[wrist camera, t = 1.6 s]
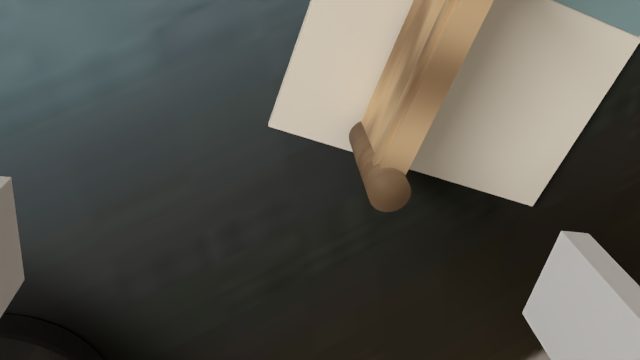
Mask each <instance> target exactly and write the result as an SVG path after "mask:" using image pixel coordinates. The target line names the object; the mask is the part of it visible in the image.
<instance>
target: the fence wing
mask: <svg viewBox="0 0 640 360" xmlns="http://www.w3.org/2000/svg"><path fill="white" fill-rule="evenodd" d="M493 1H494V0H413V3H412V5H411V7H410V10H409V12H408V14H407V17H406V19H405V21H404V24H403V26H402V28H401V30H400V33H399V35H398V37H397V40H396V42H395V44H394V47H393V49H392V51H391V53H390V56H389V58H388V60H387V63H386V65H385V67H384V70H383V72H382V74H381V76H380V79H379V81H378V83H377V86H376V88H375V90H374V93H373V95H372V97H371V100H370V102H369V104H368V106H367V109H366V111H365V113H364V116H363V118H362V120H361V121H360V122H358V123H357V124H355V125H354V126H353V127H352V129H351V130H350V133H349V142H350V145H351V147H352V150H353V153H354V156H355V159H356V162H357V165H358V168H359V171H360V174H361V177H362V180H363V183H364V186H365V189H366V192H367V195H368V198H369V201H370V203H371V205H372V206H373V207H374V208H376V209H377V210H379V211H383V212H392V211H396V210H398V209H400V208H402V207H403V206H404V205H405V204H406V203H407V202H408V200H409V198H410V195H411V187H410V184H409V182H408V180H407V178H406V174H407V172H408V170H409V168H410V166H411V164H412V162H413V160H414V158H415V156H416V154H417V152H418V150H419V148H420V146H421V144H422V142H423V140H424V138H425V136H426V134H427V132H428V130H429V128H430V126H431V124H432V122H433V120H434V118H435V116H436V114H437V112H438V110H439V108H440V106H441V104H442V102H443V100H444V98H445V96H446V94H447V92H448V90H449V88H450V87H451V85H452V83H453V81H454V79H455V77H456V75H457V73H458V71H459V69H460V67H461V65H462V63H463V61H464V59H465V57H466V55H467V53H468V51H469V49H470V47H471V45H472V43H473V41H474V39H475V37H476V35H477V33H478V31H479V29H480V27H481V25H482V23H483V21H484V19H485V17H486V15H487V13H488V11H489V9H490V7H491V5H492V3H493Z"/></svg>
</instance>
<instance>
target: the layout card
mask: <svg viewBox="0 0 640 360" xmlns="http://www.w3.org/2000/svg"><path fill="white" fill-rule="evenodd" d="M412 3H413V0H311V1H310V4H309V7H308V10H307V13H306V16H305V18H304V21H303V24H302V27H301V30H300V33H299V36H298V39H297V42H296V44H295V47H294V50H293V53H292V56H291V59H290V62H289V65H288V68H287V70H286V73H285V76H284V79H283V82H282V85H281V88H280V91H279V94H278V96H277V99H276V102H275V105H274V108H273V111H272V114H271V117H270V120H269V122H268V127H272V128H275V129H278V130H282V131H285V132H288V133H292V134H295V135H298V136H301V137H305V138H308V139H311V140H315V141H318V142H321V143H325V144H328V145H331V146H334V147H338V148H341V149H344V150H348V151H351V152H353V150H352V147H351V145H350V142H349V133H350V130H351V129H352V127H353V126H354V125H355V124H357V123H358V122H360V121H361V120H362V118H363V116H364V113H365V111H366V109H367V106H368V104H369V102H370V100H371V97H372V95H373V93H374V90H375V88H376V86H377V83H378V81H379V79H380V76H381V74H382V72H383V70H384V67H385V65H386V63H387V60H388V58H389V56H390V53H391V51H392V49H393V47H394V44H395V42H396V40H397V37H398V35H399V33H400V30H401V28H402V26H403V24H404V21H405V19H406V17H407V14H408V12H409V10H410V7H411V5H412ZM639 43H640V0H494V1H493V3H492V5H491V7H490V9H489V11H488V13H487V15H486V17H485V19H484V21H483V23H482V25H481V27H480V29H479V31H478V33H477V35H476V37H475V39H474V41H473V43H472V45H471V47H470V49H469V51H468V53H467V55H466V57H465V59H464V61H463V63H462V65H461V67H460V69H459V71H458V73H457V75H456V77H455V79H454V81H453V83H452V85H451V87H450V88H449V90H448V92H447V94H446V96H445V98H444V100H443V102H442V104H441V106H440V108H439V110H438V112H437V114H436V116H435V118H434V120H433V122H432V124H431V126H430V128H429V130H428V132H427V134H426V136H425V138H424V140H423V142H422V144H421V146H420V148H419V150H418V152H417V154H416V156H415V158H414V160H413V162H412V164H411V166H410V168H409V169H410V170H414V171H417V172H420V173H424V174H427V175H430V176H433V177H437V178H440V179H443V180H447V181H450V182H453V183H457V184H460V185H463V186H466V187H470V188H473V189H476V190H480V191H483V192H486V193H490V194H493V195H496V196H499V197H503V198H506V199H509V200H513V201H516V202H519V203H523V204H526V205H529V206H532V207H533V205H534V204H535V202H536V201H537V199H538V197H539V196H540V194H541V193H542V191H543V190H544V188H545V187H546V185H547V184H548V182H549V181H550V179H551V178H552V176H553V174H554V173H555V171H556V170H557V168H558V167H559V165H560V164H561V162H562V161H563V159H564V158H565V156H566V155H567V153H568V151H569V150H570V148H571V147H572V145H573V144H574V142H575V141H576V139H577V138H578V136H579V135H580V133H581V132H582V130H583V128H584V127H585V125H586V124H587V122H588V121H589V119H590V118H591V116H592V115H593V113H594V112H595V110H596V109H597V107H598V105H599V104H600V102H601V101H602V99H603V98H604V96H605V95H606V93H607V92H608V90H609V89H610V87H611V86H612V84H613V82H614V81H615V79H616V78H617V76H618V75H619V73H620V72H621V70H622V69H623V67H624V66H625V64H626V63H627V61H628V59H629V58H630V56H631V55H632V53H633V52H634V50H635V49H636V47H637V46H638V44H639Z"/></svg>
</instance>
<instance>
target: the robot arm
mask: <svg viewBox="0 0 640 360" xmlns="http://www.w3.org/2000/svg"><path fill="white" fill-rule="evenodd" d="M24 280H25V279H24V272H23V264H22V256H21V249H20V241H19V234H18V226H17V218H16V211H15V203H14V196H13V188H12V180H11V177H2V176H0V360H103V359H102V358H101V356H100V355H99V354H98V353H97V352H96V351H95V350H94V349H93V348H92V347H91V346H90V345H89V344H88V343H86V342H85V341H84V340H82V339H81V338H79V337H78V336H76V335H74V334H73V333H71V332H69V331H67V330H65V329H63V328H61V327H59V326H56V325H54V324H51V323H48V322H45V321H42V320H39V319H35V318H31V317H26V316H20V315H12V314H3V313H4V311H5V310H6V308H7V307H8V305H9V304H10V302H11V300H12V299H13V297H14V296H15V294H16V293H17V291H18V289H19V288H20V286H21V285H22V283H23V281H24ZM522 314H523V315H524V317H525V319H526V320H527V322H528V324H529V325H530V327H531V328H532V330H533V332H534V333H535V335H536V337H537V338H538V340H539V341H540V343H541V345H542V346H543V348H544V350H545V351H546V353H547V354H548V356H549V358H550V359H551V360H640V286H639V285H638V284H637V283H636V282H635V281H634V280H633V279H632V278H631V277H630V276H629V275H628V274H627V273H626V272H625V271H624V270H623V269H622V268H621V267H620V266H619V265H618V264H617V262H616V261H615V260H614V259H613V258H612V257H611V256H610V255H609V254H608V253H607V252H606V251H605V250H604V249H603V248H602V247H601V246H600V245H599V244H598V243H597V242H596V241H595V240H594V239H593V238H592V237H591V235H590V234H589V233H579V232H568V231H561V232H560V234H559V236H558V239H557V241H556V243H555V245H554V247H553V249H552V251H551V253H550V255H549V257H548V260H547V262H546V264H545V266H544V268H543V270H542V272H541V274H540V276H539V278H538V281H537V283H536V285H535V287H534V289H533V291H532V293H531V295H530V297H529V299H528V302H527V304H526V306H525V308H524V310H523V312H522Z"/></svg>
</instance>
